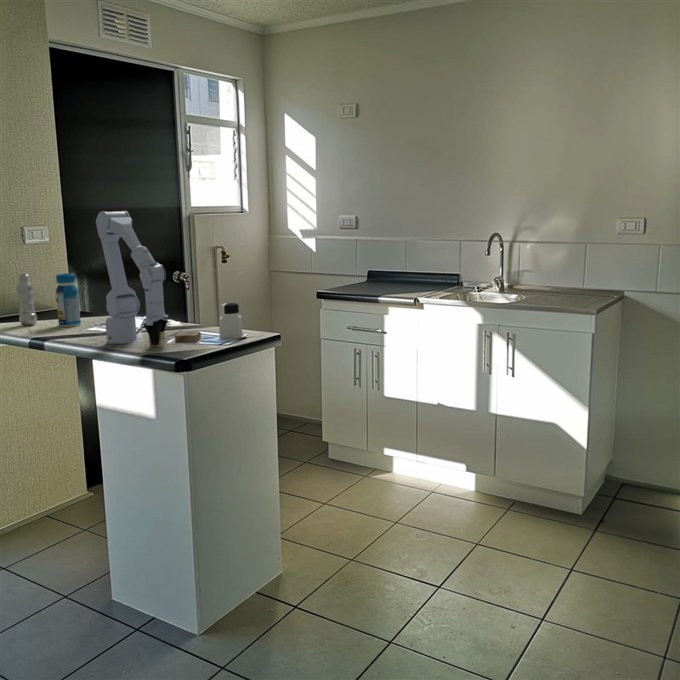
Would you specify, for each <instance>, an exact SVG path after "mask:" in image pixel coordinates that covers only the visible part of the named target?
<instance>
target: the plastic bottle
mask: <svg viewBox="0 0 680 680" xmlns="http://www.w3.org/2000/svg"><path fill="white" fill-rule="evenodd" d="M29 279H30V277H29V273H22V274H18V280H19V281H18V283H17V284H16V287H15V291H16V295H17V298H18V302H19V303H18V304H19V315H18V316H19V318H18V320H19V323H20V325H21V326H26V327H27V326H28V327H29V326H32V325H35V324H37V322H38V316H37V313H36V309H35V304H34V303H35V302H34V292H35V291H34V290H35V289H34V286H33V284H32V282H31V281H30V280H29Z"/></svg>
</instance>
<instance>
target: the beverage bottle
mask: <svg viewBox="0 0 680 680" xmlns="http://www.w3.org/2000/svg"><path fill="white" fill-rule="evenodd" d="M55 278H56V283H57V284H58V285H57V288H56V289H55V294H56V297H55V302H56V308H57V309H56V310H57V316H58V317H57V319H58V320H57V321H58V326H59V327H62V328H68V327H69V328H71V327H77V326H80V325H81V324H82V321H81V311H80V296H79V294H78V293H79V289H78V287H77V286H76V285H75V282H76V276H75V274H74V273H58V274H56V276H55Z"/></svg>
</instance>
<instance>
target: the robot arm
mask: <svg viewBox="0 0 680 680" xmlns="http://www.w3.org/2000/svg"><path fill="white" fill-rule="evenodd" d="M95 224H96V225H95V226H96V229H97V234H98V237H99V238H100V242H101V247H102V251H103V255H104V259H105V264H106V268H107V273H108V277H109V282H110V286H111V289H110V291H108V293H107V294H106V296H105V299H106V306H105V307H106V311H107V313H108V314H109V316H108V317H107V318H106V319H105V331H106V344H107V345H108V344H109V345H110V344H112V345H113V344H114V345H115V344H118V345H119V344H124V345H125V344H129V343H130V344H131V343H136V342H137V341H139V340H140V339H141V337H138V336H137V325H136V316H137V315H138V313H139V311H140V308H141V307H140V306H141V303H140V300H139V298H138V296H137V294H136V291H135V290H134V289H133V288H131V287H130V286H129V285H128V280H127V276H126V273H125V267H124V263H123V259H122V254H121V249H120V244H119V240H120V238H121V239H122V240H123V241H124V242H125V244H126V245H127V246H128V248H129V249H130V250H131V253H130V257H131V259H132V260H133V262H134V263H135V265H136V267H137V268H138V270H139V279H140V282H141V284H142V289H144V299H145V300H144V301H145V313H146V315H145V323H144V324H143V328H144V329H145V330H146V332H147V334H148V338H149V337H150V341H151V344H152V345H159V338H160V332H161V331H164V332H165V331H166V327H167V324H168V322H169V319H167V318H169V314H166V311H165V305H164V304H165V303H164V286H163V282H164V281H165V280H166V278H167V277H166V276H167V275H166V268H165V267H164V266H163V264H160V263H159V262H157V261H156V260H155V259H154V257H153V255H152V254H151V252H150V250H149V249H148V248H147V247H146V246H143V245H142V243H141V242H140V240H139V239H138V237H137V235H136V232H135V231H134V229H133V218H131V216H130V213H129V212H128V211H127V210H121V211H103V210H102V211H99V213H98V214H97V217H96V220H95Z"/></svg>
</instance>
